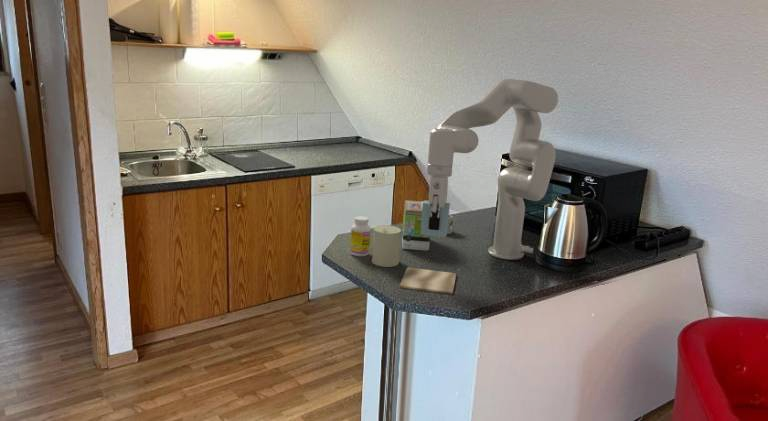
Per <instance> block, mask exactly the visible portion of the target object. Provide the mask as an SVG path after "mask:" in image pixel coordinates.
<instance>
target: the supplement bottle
mask: <svg viewBox="0 0 768 421" xmlns="http://www.w3.org/2000/svg"><path fill="white" fill-rule="evenodd" d="M350 229H351V230H350V247H349V251H350V252H349V253H350V254H351V255H353V256H355V257H366V256H368V255H369V253H370V245H371V233H372V232H371V231H372V230H371V229H372V228H371V226H370V225H369V217H367V216H363V215H362V216H361V215H359V216H355V217H354V224H352V226H351V228H350Z"/></svg>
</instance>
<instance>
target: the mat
mask: <svg viewBox="0 0 768 421" xmlns="http://www.w3.org/2000/svg"><path fill="white" fill-rule="evenodd" d="M456 278H457V272H456V273H455V272H450V271H439V270H432V269H423V268H415V267H406V269H405V272H404V275H403V277H402V279H401V282H400V283H399V288H401V289H410V290H416V291H417V290H418V291H424V292H433V293H440V294H446V295H447V294H449V295H453V294H454V288H455V282H456Z"/></svg>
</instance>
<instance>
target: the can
mask: <svg viewBox="0 0 768 421" xmlns="http://www.w3.org/2000/svg"><path fill="white" fill-rule="evenodd" d="M401 238H402V229H401V228H399V227H398V226H393V225H376V226H375V227H374V228H373V241H372V242H373V243H372V256H371V258H372V259H371V263H372V264H373V265H376V266H378V267H384V268H390V267H391V268H392V267H396V266H398V265H399V263H400V246H401Z"/></svg>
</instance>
